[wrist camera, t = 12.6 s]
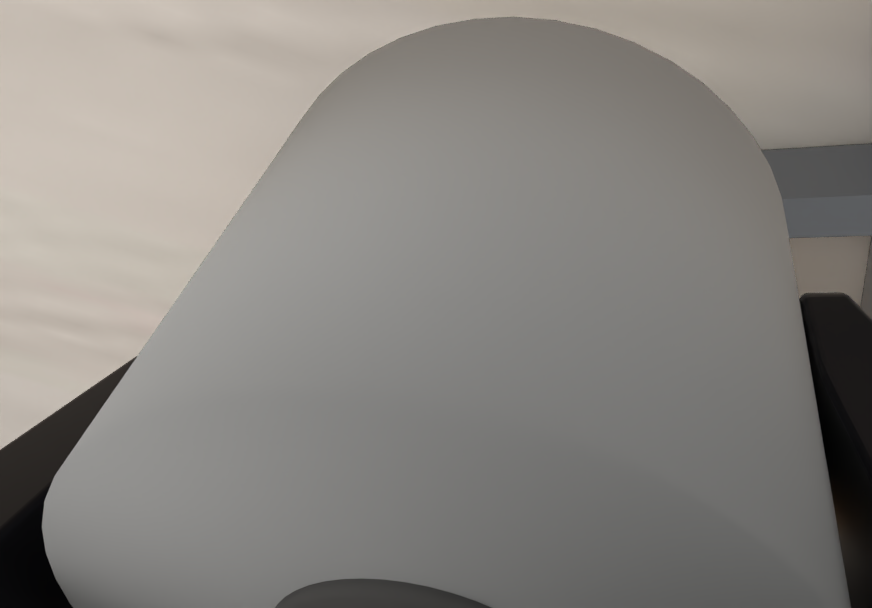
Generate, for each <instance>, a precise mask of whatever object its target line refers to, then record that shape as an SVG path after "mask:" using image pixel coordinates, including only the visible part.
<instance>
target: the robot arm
mask: <svg viewBox="0 0 872 608" xmlns="http://www.w3.org/2000/svg"><path fill="white" fill-rule="evenodd" d="M799 301H800V307H801V312H802V318H803V324H804V330H805V336H806V342H807V348H808V354H809V360H810V366H811V372H812V378H813V384H814V390H815V396H816V402H817V407H818V413H819V419H820V425H821V431H822V437H823V443H824V449H825V455H826V461H827V467H828V473H829V479H830V485H831V491H832V497H833V502H834V508H835V514H836V520H837V526H838V532H839V538H840V544H841V550H842V556H843V562H844V568H845V574H846V580H847V586H848V592H849V597H850V603H851V608H872V318H871V317H870V316H869V315H868V314H867V313H866V312H865V311H864V310H863V309H862V308H861V307H860V306H859V305H858V304H857V303H856V302H855V301H854V300H853V299H852V298H851V297H849V296H848V295H846V294H844V293H806V294H804V295H802V296H801V298H800V299H799ZM136 358H137V356H136V357H135V358H133V359H132V360H130V361H129V362H128V363H126V364H125V365H123V366H122V367H120V368H119V369H117V370H116V371H114V372H113V373H112V374H110V375H109V376H107V377H106V378H104V379H103V380H101V381H100V382H98V383H97V384H96V385H94V386H93V387H91V388H90V389H88V390H87V391H85V392H84V393H82V394H81V395H79V396H78V397H77V398H75V399H74V400H72V401H71V402H69V403H68V404H66V405H65V406H63V407H62V408H61V409H59V410H58V411H56V412H55V413H53V414H52V415H50V416H49V417H47V418H46V419H45V420H43V421H42V422H40V423H39V424H37V425H36V426H34V427H33V428H31V429H30V430H28V431H27V432H26V433H24V434H23V435H21V436H20V437H18V438H17V439H15V440H14V441H12V442H11V443H10V444H8V445H7V446H5V447H4V448H2V449H1V450H0V608H73V607H72V605H71V604H70V603H69V601H68V599H67V597H66V596H65V594H64V592H63V591H62V589H61V587H60V585H59V584H58V582H57V580H56V579H55V576H54V573H53V571H52V568H51V565H50V563H49V560H48V557H47V555H46V551H45V545H44V538H43V532H42V519H43V509H44V501H45V498H46V496H47V493H48V491H49V488H50V486H51V483H52V481H53V478H54V476H55V475H56V473H57V472H58V470H59V469H60V467H61V466H62V464H63V463H64V462H65V460H66V459H67V457H68V456H69V454H70V453H71V451H72V450H73V449H74V447H75V446H76V444H77V443H78V441H79V440H80V438H81V437H82V436H83V434H84V433H85V431H86V430H87V428H88V427H89V425H90V424H91V423H92V421H93V420H94V418H95V417H96V415H97V414H98V412H99V411H100V410H101V408H102V407H103V405H104V404H105V402H106V401H107V399H108V398H109V397H110V395H111V394H112V392H113V391H114V389H115V388H116V386H117V385H118V384H119V382H120V381H121V379H122V378H123V376H124V375H125V373H126V372H127V371H128V369H129V368H130V366H131V365H132V363H133V362H134V360H135V359H136Z"/></svg>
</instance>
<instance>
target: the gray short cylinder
mask: <svg viewBox="0 0 872 608" xmlns="http://www.w3.org/2000/svg"><path fill="white" fill-rule="evenodd" d="M42 532H43V538H44V545H45V551H46V555H47V557H48V560H49V563H50V565H51V568H52V571H53V573H54V576H55V579H56V580H57V582H58V584H59V585H60V587H61V589H62V591H63V592H64V594H65V596H66V597H67V599H68V601H69V603H70V604H71V605H72V607H73V608H851V603H850V597H849V592H848V586H847V580H846V574H845V568H844V562H843V556H842V550H841V544H840V538H839V532H838V526H837V520H836V514H835V508H834V502H833V497H832V491H831V485H830V479H829V473H828V467H827V461H826V455H825V449H824V443H823V437H822V431H821V425H820V419H819V413H818V407H817V402H816V396H815V390H814V384H813V378H812V372H811V366H810V360H809V354H808V348H807V342H806V336H805V330H804V324H803V318H802V312H801V307H800V301H799V295H798V289H797V283H796V277H795V271H794V265H793V259H792V253H791V247H790V241H789V235H788V229H787V224H786V218H785V213H784V207H783V202H782V197H781V194H780V191H779V189H778V186H777V183H776V180H775V178H774V175H773V172H772V170H771V167H770V165H769V163H768V161H767V160H766V158H765V156H764V154H763V153H762V151H761V149H760V147H759V146H758V144H757V142H756V140H755V139H754V137H753V136H752V134H751V133H750V132H749V131H748V129H747V128H746V127H745V126H744V124H743V123H742V122H741V121H740V119H739V118H738V117H737V116H736V115H735V113H734V112H733V111H732V110H731V108H730V107H728V106H727V105H726V104H725V103H724V102H723V101H722V100H721V99H720V98H719V97H718V96H717V95H715V94H714V93H713V92H712V91H711V90H710V89H709V88H708V87H707V86H706V85H705V84H704V83H702V82H701V81H699V80H698V79H696V78H695V77H694V76H692V75H691V74H689V73H688V72H686V71H685V70H683V69H682V68H680V67H679V66H678V65H676V64H675V63H673V62H672V61H670V60H668V59H666V58H664V57H662V56H660V55H658V54H656V53H654V52H652V51H650V50H648V49H646V48H645V47H643V46H641V45H639V44H637V43H635V42H632V41H629V40H626V39H623V38H620V37H618V36H615V35H612V34H609V33H606V32H603V31H600V30H598V29H594V28H589V27H585V26H580V25H575V24H570V23H566V22H561V21H556V20H546V19H533V18H521V17H504V18H484V19H471V20H466V21H461V22H455V23H450V24H444V25H439V26H435V27H432V28H429V29H426V30H423V31H420V32H416V33H413V34H410V35H407V36H404V37H401V38H399V39H397V40H395V41H393V42H391V43H389V44H387V45H385V46H383V47H381V48H379V49H377V50H375V51H373V52H371V53H369V54H368V55H367V56H365V57H364V58H362V59H361V60H359V61H358V62H357V63H355V64H354V65H352V66H351V67H349V68H348V69H347V70H345V71H344V72H342V73H341V74H340V75H339V76H338V77H337V78H336V79H335V80H334V81H333V82H332V83H331V84H330V85H329V86H328V87H327V88H326V89H325V90H324V91H323V92H322V93H321V94H320V95H319V96H318V98H317V99H316V100H315V102H314V103H313V104H312V106H311V107H310V108H309V110H308V111H307V112H306V114H305V115H304V116H303V118H302V119H301V121H300V122H299V123H298V125H297V126H296V128H295V129H294V131H293V132H292V134H291V135H290V136H289V138H288V139H287V141H286V142H285V144H284V145H283V147H282V148H281V149H280V151H279V152H278V154H277V155H276V157H275V158H274V160H273V161H272V162H271V164H270V165H269V167H268V168H267V170H266V171H265V173H264V174H263V175H262V177H261V178H260V180H259V181H258V183H257V184H256V186H255V187H254V188H253V190H252V191H251V193H250V194H249V196H248V197H247V199H246V200H245V201H244V203H243V204H242V206H241V207H240V209H239V210H238V212H237V213H236V214H235V216H234V217H233V219H232V220H231V222H230V223H229V225H228V226H227V227H226V229H225V230H224V232H223V233H222V235H221V236H220V238H219V239H218V240H217V242H216V243H215V245H214V246H213V248H212V249H211V251H210V252H209V253H208V255H207V256H206V258H205V259H204V261H203V262H202V264H201V265H200V266H199V268H198V269H197V271H196V272H195V274H194V275H193V277H192V278H191V279H190V281H189V282H188V284H187V285H186V287H185V288H184V290H183V291H182V292H181V294H180V295H179V297H178V298H177V300H176V301H175V303H174V304H173V305H172V307H171V308H170V310H169V311H168V313H167V314H166V316H165V317H164V318H163V320H162V321H161V323H160V324H159V326H158V327H157V329H156V330H155V332H154V333H153V334H152V336H151V337H150V339H149V340H148V342H147V343H146V345H145V346H144V347H143V349H142V350H141V352H140V353H139V355H138V356H137V358H136V359H135V360H134V362H133V363H132V365H131V366H130V368H129V369H128V371H127V372H126V373H125V375H124V376H123V378H122V379H121V381H120V382H119V384H118V385H117V386H116V388H115V389H114V391H113V392H112V394H111V395H110V397H109V398H108V399H107V401H106V402H105V404H104V405H103V407H102V408H101V410H100V411H99V412H98V414H97V415H96V417H95V418H94V420H93V421H92V423H91V424H90V425H89V427H88V428H87V430H86V431H85V433H84V434H83V436H82V437H81V438H80V440H79V441H78V443H77V444H76V446H75V447H74V449H73V450H72V451H71V453H70V454H69V456H68V457H67V459H66V460H65V462H64V463H63V464H62V466H61V467H60V469H59V470H58V472H57V473H56V475H55V476H54V478H53V481H52V483H51V486H50V488H49V491H48V493H47V496H46V498H45V501H44V509H43V519H42Z"/></svg>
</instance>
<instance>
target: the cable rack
mask: <svg viewBox="0 0 872 608" xmlns="http://www.w3.org/2000/svg"><path fill="white" fill-rule="evenodd" d="M761 151H762V153H763V154H764V156H765V158H766V160H767V161H768V163H769V165H770V167H771V170H772V172H773V175H774V178H775V180H776V183H777V186H778V189H779V191H780V194H781V197H782V202H783V207H784V213H785V218H786V224H787V229H788V235H789V238H810V237H841V236H871V235H872V144H857V145H841V146H825V147H809V148H793V149H776V150H761ZM861 308H862V309H863V310H864V311H865V312H866V313H867V314H868V315H869V316H870V317H871V318H872V237H871V244H870V250H869V256H868V263H867V269H866V276H865V282H864V288H863V295H862V301H861Z"/></svg>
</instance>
